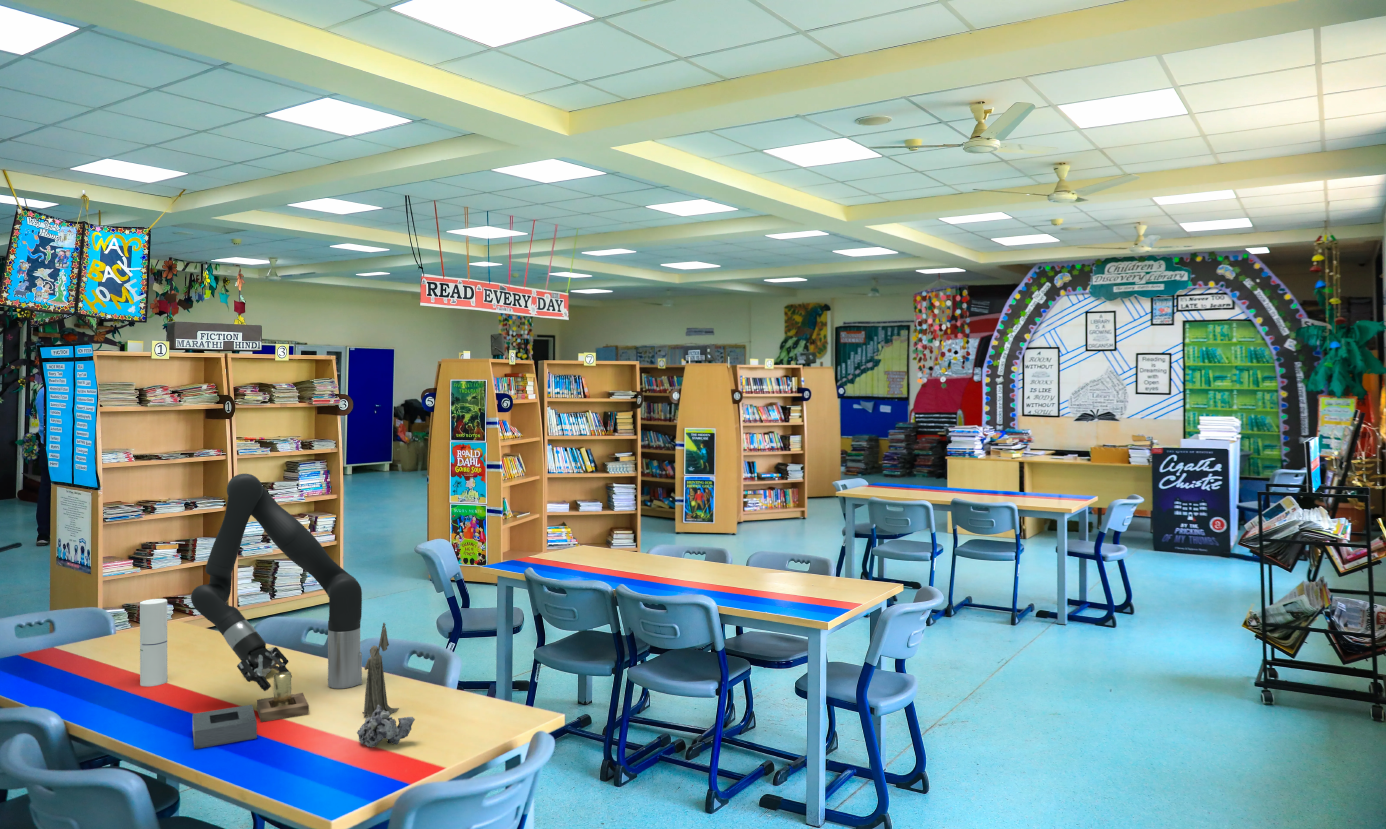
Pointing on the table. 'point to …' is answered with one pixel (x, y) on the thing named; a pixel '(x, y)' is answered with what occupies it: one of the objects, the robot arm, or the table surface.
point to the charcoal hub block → (224, 726)
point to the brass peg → (282, 689)
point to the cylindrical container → (153, 642)
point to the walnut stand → (282, 708)
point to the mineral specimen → (384, 728)
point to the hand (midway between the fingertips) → (279, 684)
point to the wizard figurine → (376, 679)
